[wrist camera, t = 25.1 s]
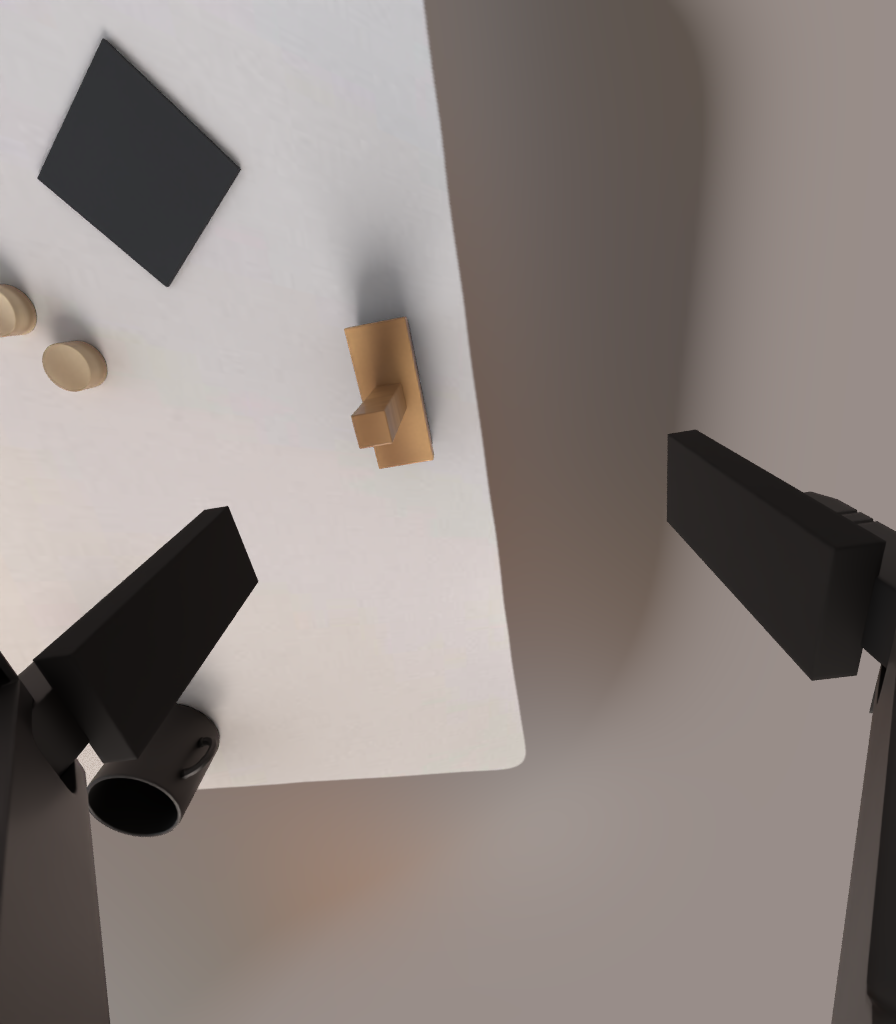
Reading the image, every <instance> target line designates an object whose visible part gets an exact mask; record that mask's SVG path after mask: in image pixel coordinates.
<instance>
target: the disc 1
mask: <svg viewBox="0 0 896 1024" xmlns="http://www.w3.org/2000/svg"><path fill="white" fill-rule="evenodd" d="M36 320H37V317H36V311H35V308H34V306H33V304H32V302H31V301H30V300H29V298H28V297H27V296H26V295H25V294H24V293H23V292H22V291H20V290H19V289H17V288H15V287H13V286H10V285H5V284H0V337H6V336H16V335H25V334H28V333H29V332H31V331H32V330H33V329H34V327H35V325H36Z"/></svg>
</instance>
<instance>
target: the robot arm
mask: <svg viewBox="0 0 896 1024" xmlns="http://www.w3.org/2000/svg"><path fill="white" fill-rule="evenodd" d="M667 464H668V465H667V466H668V467H667V522H668V523H669V524H670V525H671V526H672V527H673V528H674V529H675V530H676V532H677V533H679V535H680V536H681V537H682V538H683V539H684V540H685V541H686V543H687V544H688V545H689V546H690V547H691V548H692V549H693V550H694V551H695V552H696V554H697V555H698V556H699V557H700V558H701V559H702V560H703V561H704V562H705V564H707V566H708V567H709V568H710V569H711V570H712V571H713V572H714V573H715V575H716V576H717V577H718V578H719V579H720V580H721V581H722V582H723V583H724V584H725V586H726V587H727V588H728V589H729V590H730V591H731V592H732V593H733V594H734V595H735V597H736V598H737V599H738V600H739V601H740V602H741V603H742V604H743V605H744V606H745V608H746V609H747V610H748V611H749V612H750V613H751V614H752V615H753V616H754V617H755V619H756V620H757V621H758V622H759V623H760V624H761V625H762V626H763V627H764V629H765V630H766V631H767V632H768V633H769V634H770V635H771V636H772V637H773V638H774V639H775V641H776V642H777V643H778V644H779V645H780V646H781V647H782V648H783V649H784V650H785V652H786V653H787V654H788V655H789V656H790V657H791V658H792V659H793V660H794V662H795V663H796V664H797V665H798V666H799V667H800V668H801V669H802V670H803V671H804V672H805V674H806V675H807V676H808V677H809V678H810V679H811V680H812V681H813V680H822V679H830V678H839V677H847V676H855V675H857V672H858V667H859V663H860V658H861V654H862V649H863V648H864V649H865V650H866V651H867V652H868V653H869V654H871V655H872V656H873V657H874V658H875V659H876V660H877V661H878V662H880V663H881V667H880V671H879V675H878V679H877V683H876V687H875V691H874V695H873V699H872V703H871V708H870V713H873V716H872V723H871V730H870V738H869V746H868V753H867V760H866V768H865V776H864V783H863V791H862V798H861V806H860V813H859V820H858V828H857V836H856V843H855V851H854V858H853V866H852V873H851V880H850V888H849V895H848V903H847V910H846V918H845V925H844V933H843V941H842V948H841V955H840V963H839V970H838V978H837V985H836V993H835V1001H834V1008H833V1016H832V1024H896V531H894V530H892V529H890V528H889V527H887V526H885V525H883V524H881V523H879V522H878V521H876V522H874V521H873V519H872V518H870V517H869V516H867V515H865V514H863V513H861V512H859V513H857V510H856V509H854V508H852V507H850V506H849V505H847V504H845V503H843V502H841V501H839V500H838V499H834V498H831V497H828V496H824V495H821V494H817V493H814V492H805V493H803V492H801V491H800V490H798V489H796V488H795V487H793V486H791V485H789V484H788V483H786V482H784V481H782V480H781V479H779V478H777V477H776V476H774V475H772V474H771V473H769V472H767V471H766V470H764V469H762V468H760V467H759V466H757V465H755V464H754V463H752V462H750V461H748V460H747V459H745V458H743V457H741V456H740V455H738V454H737V453H734V452H733V451H731V450H730V449H728V448H726V447H725V446H723V445H721V444H719V443H718V442H716V441H714V440H713V439H711V438H709V437H707V436H706V435H704V434H702V433H700V432H699V431H697V430H691V431H684V432H678V433H672V434H668V463H667ZM257 583H258V579H257V577H256V574H255V572H254V569H253V567H252V564H251V562H250V559H249V557H248V554H247V552H246V549H245V547H244V544H243V542H242V539H241V537H240V534H239V532H238V529H237V527H236V524H235V522H234V519H233V517H232V514H231V512H230V509H229V507H228V506H226V507H219V508H213V509H207V510H204V511H203V512H202V513H201V514H199V515H198V516H197V517H196V518H195V519H194V520H192V521H191V522H190V523H189V524H188V525H187V526H186V527H184V528H183V529H182V530H181V531H180V532H179V533H178V534H176V535H175V536H174V537H173V538H172V539H171V540H170V541H168V542H167V543H166V544H165V545H164V546H163V547H162V548H160V549H159V550H158V551H157V552H156V553H155V554H154V555H152V556H151V557H150V558H149V559H148V560H147V561H146V562H144V563H143V564H142V565H141V566H140V567H139V568H138V569H136V570H135V571H134V572H133V573H132V574H131V575H130V576H128V577H127V578H126V579H125V580H124V581H123V582H121V583H120V584H119V585H118V586H117V587H116V588H115V589H113V590H112V591H111V592H110V593H109V594H108V595H107V596H105V597H104V598H103V599H102V600H101V601H100V602H99V603H97V604H96V605H95V606H94V607H93V608H92V609H91V610H89V611H88V612H87V613H86V614H85V615H84V616H83V617H81V618H80V619H79V620H78V621H77V622H76V623H75V624H73V625H72V626H71V627H70V628H69V629H68V630H67V631H65V632H64V633H63V634H62V635H61V636H60V637H59V638H57V639H56V640H55V641H54V642H53V643H52V644H50V645H49V646H48V647H47V648H46V649H45V650H44V651H42V652H41V653H40V654H39V655H38V656H37V657H36V658H34V659H33V661H34V662H33V663H32V664H31V665H29V666H28V667H27V668H26V669H25V670H24V671H23V672H21V673H20V674H19V675H18V676H17V674H16V673H15V671H14V670H13V669H12V667H11V666H10V664H9V663H8V661H7V660H6V659H5V657H4V656H3V654H2V653H1V652H0V1024H110V1018H109V1007H108V997H107V988H106V978H105V967H104V957H103V947H102V937H101V927H100V917H99V906H98V896H97V886H96V876H95V866H94V855H93V846H92V835H91V825H90V815H89V805H88V795H87V784H86V774H85V771H84V769H83V767H82V766H81V764H80V763H79V761H78V760H77V759H76V758H77V757H78V755H79V754H80V753H81V752H82V751H83V749H84V748H85V747H86V746H87V744H88V743H90V745H91V746H92V748H93V749H94V751H95V752H96V754H97V755H98V757H99V758H100V759H101V761H102V762H103V763H110V762H118V761H127V760H136V759H138V758H139V756H140V755H141V754H142V752H143V751H144V749H145V748H146V746H147V745H148V743H149V742H150V740H151V739H152V737H153V736H154V734H155V733H156V731H157V730H158V729H159V727H160V726H161V724H162V723H163V721H164V720H165V718H166V717H167V715H168V714H169V712H170V711H171V709H172V708H173V706H174V705H175V704H176V702H177V701H178V699H179V698H180V696H181V695H182V693H183V692H184V690H185V689H186V687H187V686H188V684H189V683H190V681H191V680H192V679H193V677H194V676H195V674H196V673H197V671H198V670H199V668H200V667H201V665H202V664H203V662H204V661H205V659H206V658H207V656H208V655H209V654H210V652H211V651H212V649H213V648H214V646H215V645H216V643H217V642H218V640H219V639H220V637H221V636H222V634H223V633H224V631H225V630H226V629H227V627H228V626H229V624H230V623H231V621H232V620H233V618H234V617H235V615H236V614H237V612H238V611H239V609H240V608H241V606H242V605H243V604H244V602H245V601H246V599H247V598H248V596H249V595H250V593H251V592H252V590H253V589H254V587H255V586H256V584H257Z"/></svg>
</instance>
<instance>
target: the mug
mask: <svg viewBox="0 0 896 1024" xmlns="http://www.w3.org/2000/svg"><path fill="white" fill-rule="evenodd" d="M218 747H219V734H218V731H217V729H216V727H215V725H214V724H213V723H212V721H211V720H210V719H209V718H207V717H206V716H205V715H204V714H202V713H200V712H199V711H197V710H195V709H193V708H190V707H187V706H183V705H178V704H175V705H174V706H173V708H172V709H171V711H170V712H169V714H168V715H167V717H166V718H165V720H164V721H163V723H162V724H161V726H160V727H159V729H158V730H157V731H156V733H155V734H154V736H153V737H152V739H151V740H150V742H149V743H148V745H147V746H146V748H145V749H144V751H143V752H142V754H141V755H140V756H139V758H138V759H136V760H127V761H118V762H110V763H104V765H103V766H102V767H101V769H100V770H99V772H98V773H97V774H96V776H95V777H94V778H93V780H92V781H91V782H90V784H89V785H88V787H87V795H88V805H89V812H90V813H91V814H92V815H93V816H94V817H95V818H96V819H97V820H98V821H99V822H101V823H102V824H104V825H105V826H107V827H109V828H111V829H113V830H115V831H118V832H121V833H124V834H127V835H132V836H139V837H154V836H159V835H163V834H166V833H168V832H170V831H172V830H173V829H174V828H175V827H176V826H177V825H178V824H179V823H180V821H181V819H182V817H183V815H184V813H185V811H186V809H187V807H188V806H189V803H190V801H191V800H192V798H193V796H194V794H195V792H196V790H197V788H198V786H199V784H200V782H201V781H202V779H203V777H204V775H205V773H206V771H207V769H208V767H209V765H210V763H211V761H212V759H213V757H214V755H215V754H216V752H217V749H218Z"/></svg>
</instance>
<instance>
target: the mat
mask: <svg viewBox="0 0 896 1024" xmlns="http://www.w3.org/2000/svg"><path fill="white" fill-rule="evenodd" d="M240 170H241V169H240V168H239V167H238V166H237V165H236V164H235V163H234V162H233V161H232V160H231V159H230V158H229V157H227V156H226V155H225V154H224V153H223V152H222V151H221V150H220V149H219V148H218V147H217V146H216V145H215V144H214V143H213V142H212V141H211V140H210V139H209V138H208V137H207V136H206V135H205V134H204V133H202V132H201V131H200V130H199V129H198V128H197V127H196V126H195V125H194V124H193V123H192V122H191V121H190V120H189V119H188V118H187V117H186V116H185V115H184V114H183V113H182V112H181V111H180V110H179V109H177V108H176V107H175V106H174V105H173V104H172V103H171V102H170V101H169V100H168V99H167V98H166V97H165V96H164V95H163V94H162V93H161V92H160V91H159V90H158V89H157V88H156V87H155V86H154V85H152V84H151V83H150V82H149V81H148V80H147V79H146V78H145V77H144V76H143V75H142V74H141V73H140V72H139V71H138V70H137V69H136V68H135V67H134V66H133V65H132V64H131V63H130V62H129V61H127V60H126V59H125V58H124V57H123V56H122V55H121V54H120V53H119V52H118V51H117V50H116V49H115V48H114V47H113V46H112V45H111V44H110V43H109V42H108V41H107V40H105V39H104V38H103V39H102V41H101V43H100V45H99V48H98V50H97V52H96V54H95V56H94V58H93V60H92V62H91V65H90V67H89V69H88V71H87V73H86V75H85V77H84V80H83V82H82V84H81V86H80V88H79V90H78V92H77V95H76V97H75V99H74V101H73V103H72V105H71V107H70V109H69V112H68V114H67V116H66V118H65V120H64V122H63V124H62V127H61V129H60V131H59V133H58V135H57V137H56V139H55V141H54V144H53V146H52V148H51V150H50V152H49V154H48V156H47V159H46V161H45V163H44V165H43V167H42V169H41V171H40V174H39V176H38V179H39V180H40V181H41V182H42V183H43V184H44V185H46V186H47V187H48V188H49V189H50V190H52V191H53V192H54V193H55V194H56V195H58V196H59V197H60V198H61V199H62V200H64V201H65V202H66V203H67V204H68V205H69V206H71V207H72V208H73V209H74V210H75V211H77V212H78V213H79V214H80V215H81V216H83V217H84V218H85V219H86V220H87V221H88V222H90V223H91V224H92V225H93V226H94V227H96V228H97V229H98V230H99V231H100V232H102V233H103V234H104V235H105V236H106V237H108V238H109V239H110V240H111V241H112V242H113V243H115V244H116V245H117V246H118V247H119V248H121V249H122V250H123V251H124V252H125V253H127V254H128V255H129V256H130V257H131V258H132V259H134V260H135V261H136V262H137V263H138V264H140V265H141V266H142V267H143V268H144V269H146V270H147V271H148V272H149V273H150V274H152V275H153V276H154V277H155V278H156V279H157V280H159V281H160V282H161V283H162V284H163V285H165V286H166V287H169V286H170V284H171V282H172V281H173V279H174V277H175V276H176V274H177V273H178V271H179V269H180V268H181V266H182V264H183V263H184V261H185V260H186V258H187V256H188V255H189V253H190V251H191V250H192V248H193V247H194V245H195V243H196V242H197V240H198V238H199V237H200V235H201V234H202V232H203V230H204V229H205V227H206V225H207V224H208V222H209V221H210V219H211V217H212V216H213V214H214V212H215V211H216V209H217V208H218V206H219V204H220V203H221V201H222V199H223V198H224V196H225V195H226V193H227V191H228V190H229V188H230V186H231V185H232V183H233V182H234V180H235V178H236V177H237V175H238V173H239V172H240Z"/></svg>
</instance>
